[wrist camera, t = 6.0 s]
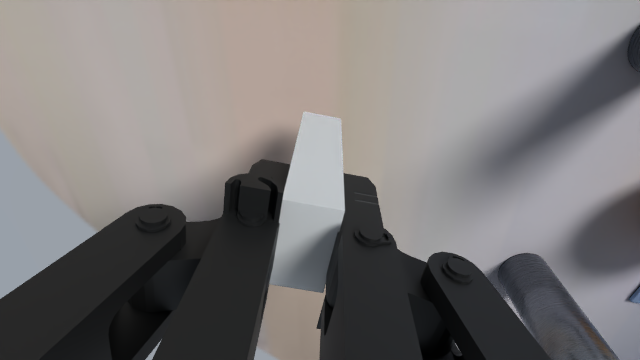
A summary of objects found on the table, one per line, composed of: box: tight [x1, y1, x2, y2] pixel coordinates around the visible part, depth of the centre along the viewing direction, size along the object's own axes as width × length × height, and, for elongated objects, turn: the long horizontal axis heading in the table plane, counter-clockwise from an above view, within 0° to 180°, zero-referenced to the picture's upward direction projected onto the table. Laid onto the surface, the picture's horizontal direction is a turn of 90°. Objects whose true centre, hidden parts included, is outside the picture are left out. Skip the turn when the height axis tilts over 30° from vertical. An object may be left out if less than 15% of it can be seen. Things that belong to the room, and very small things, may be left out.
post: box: [498, 253, 619, 360], centre depth 16 cm, size 3×3×9 cm
